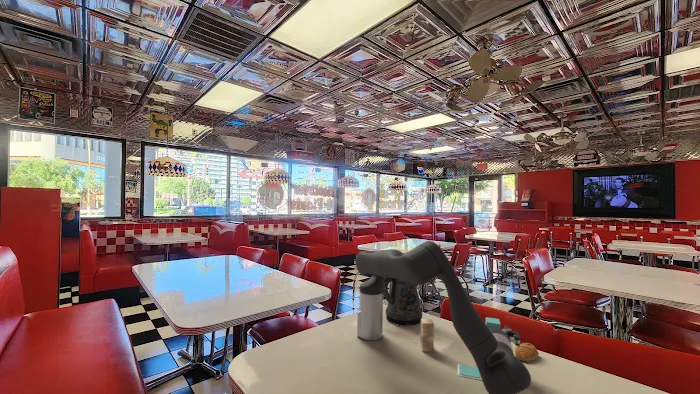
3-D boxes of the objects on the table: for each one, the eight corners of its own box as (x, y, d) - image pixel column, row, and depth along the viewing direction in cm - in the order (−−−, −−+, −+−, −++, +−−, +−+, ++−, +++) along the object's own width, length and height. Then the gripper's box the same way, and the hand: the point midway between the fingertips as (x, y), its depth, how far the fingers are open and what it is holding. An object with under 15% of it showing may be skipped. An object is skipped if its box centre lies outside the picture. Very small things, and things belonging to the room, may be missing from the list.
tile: (457, 375, 94) (457, 374, 94) (457, 364, 101) (457, 363, 101) (481, 380, 92) (481, 378, 92) (480, 368, 99) (480, 367, 99)
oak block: (422, 351, 110) (422, 323, 110) (420, 346, 114) (420, 318, 114) (433, 351, 109) (434, 323, 110) (431, 346, 113) (431, 319, 114)
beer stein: (427, 317, 142) (428, 263, 143) (411, 332, 126) (412, 270, 126) (394, 310, 151) (395, 259, 152) (375, 323, 135) (376, 265, 135)
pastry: (532, 366, 101) (532, 354, 101) (510, 359, 106) (510, 347, 106) (539, 356, 108) (539, 345, 108) (518, 349, 113) (518, 339, 113)
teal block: (485, 352, 100) (486, 322, 99) (484, 346, 103) (485, 317, 103) (499, 354, 98) (500, 324, 98) (497, 348, 102) (498, 319, 102)
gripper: (525, 337, 85) (515, 317, 100) (470, 329, 90) (468, 311, 105) (525, 365, 85) (515, 340, 100) (470, 355, 90) (468, 333, 105)
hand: (491, 325), depth 103 cm, fingers open, 8 cm apart
